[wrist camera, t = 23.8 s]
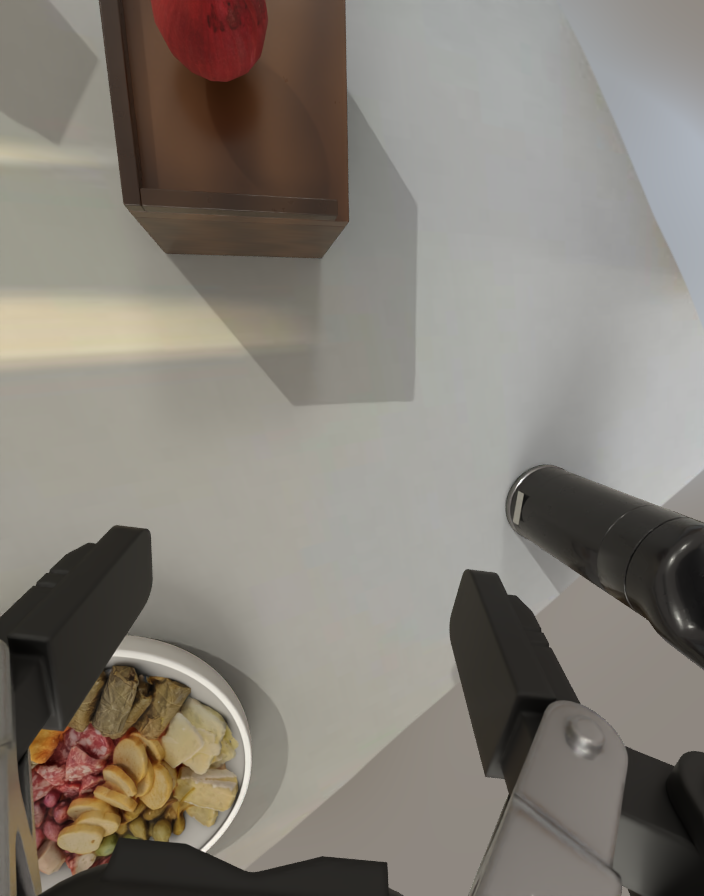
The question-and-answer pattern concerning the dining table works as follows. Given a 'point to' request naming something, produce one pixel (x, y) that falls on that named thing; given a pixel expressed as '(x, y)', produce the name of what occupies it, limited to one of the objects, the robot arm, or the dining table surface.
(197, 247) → the shelf stand
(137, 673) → the bowl
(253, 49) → the onion
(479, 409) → the dining table surface
